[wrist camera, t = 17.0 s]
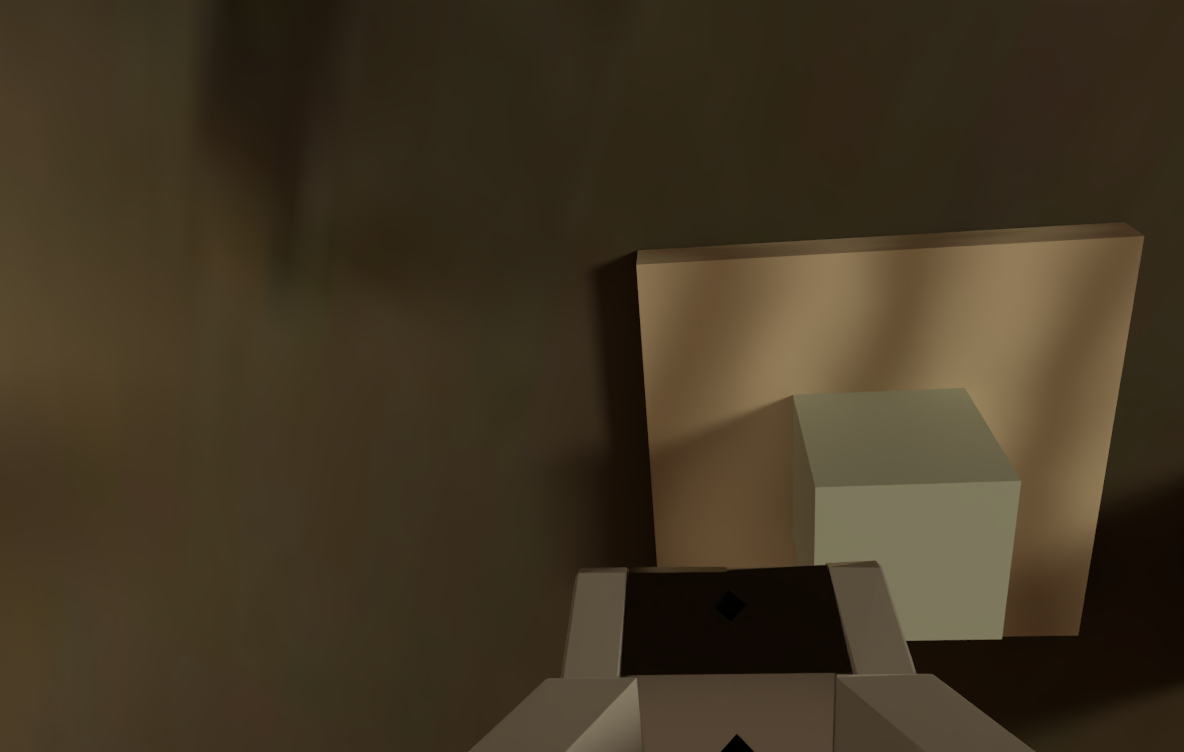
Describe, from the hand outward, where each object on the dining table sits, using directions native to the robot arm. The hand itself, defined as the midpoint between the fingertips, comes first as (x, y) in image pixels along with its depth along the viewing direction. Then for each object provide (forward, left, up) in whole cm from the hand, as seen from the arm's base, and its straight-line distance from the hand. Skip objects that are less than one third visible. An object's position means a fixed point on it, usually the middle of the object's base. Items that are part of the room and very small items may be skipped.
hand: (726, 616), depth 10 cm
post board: (-6, +12, -24) cm, 28 cm away
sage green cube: (-6, +12, -23) cm, 26 cm away
